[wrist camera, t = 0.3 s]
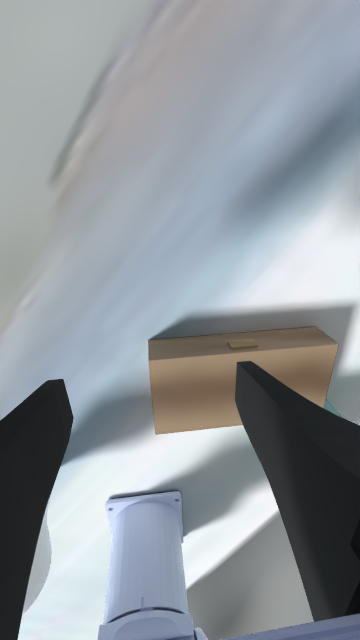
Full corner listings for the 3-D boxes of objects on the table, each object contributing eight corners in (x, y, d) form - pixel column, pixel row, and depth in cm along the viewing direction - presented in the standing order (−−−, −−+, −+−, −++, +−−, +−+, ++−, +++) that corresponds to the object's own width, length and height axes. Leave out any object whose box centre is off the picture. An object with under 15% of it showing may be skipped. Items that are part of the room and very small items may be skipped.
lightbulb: (-3, 474, 26) (-98, 651, 16) (23, 432, 24) (-65, 600, 14) (59, 492, 28) (9, 659, 18) (87, 454, 26) (50, 616, 16)
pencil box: (302, 393, 26) (321, 416, 23) (154, 408, 24) (155, 434, 22) (316, 324, 23) (339, 341, 20) (148, 337, 21) (148, 358, 19)
